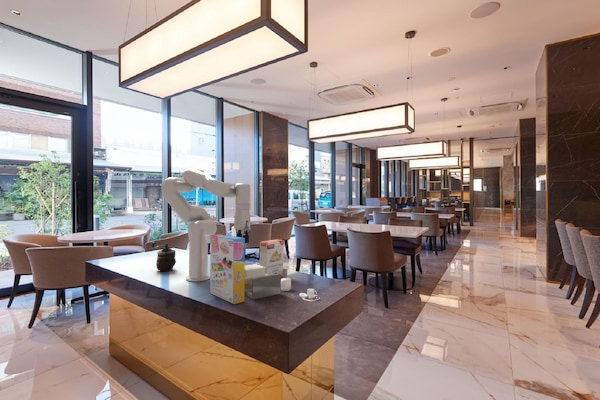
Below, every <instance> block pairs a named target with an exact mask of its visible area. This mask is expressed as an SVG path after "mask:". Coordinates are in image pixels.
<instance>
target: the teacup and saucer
mask: <svg viewBox="0 0 600 400" xmlns="http://www.w3.org/2000/svg"><path fill="white" fill-rule="evenodd" d="M306 292H307V293H304V292H300V293H299V297H300V298H301V299H302V300H304V301H309V302H313V301H318V300H319V299H317V298H316V297H315V296H317V293H318V292H317V291H316V290H315V288H308V289H307V291H306ZM306 298H308V299H306ZM314 298H315V299H314Z"/></svg>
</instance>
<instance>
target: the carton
mask: <svg viewBox="0 0 600 400" xmlns="http://www.w3.org/2000/svg"><path fill="white" fill-rule="evenodd" d="M259 276H265V267H263V266H260V264H257V263H253V264H246V265H245V278H246V279H247V278H253V277H259Z"/></svg>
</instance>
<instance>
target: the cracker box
mask: <svg viewBox="0 0 600 400" xmlns="http://www.w3.org/2000/svg"><path fill="white" fill-rule="evenodd" d="M284 241H285V240H283V239H278V238H276V239H271V240H269V239H268V240H262V241H260V242H259V265H260V266H263V267H265V274H267V275H273V274H280V278H284V254H285V253H284V252H285V251H284V247H285V242H284Z"/></svg>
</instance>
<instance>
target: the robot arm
mask: <svg viewBox="0 0 600 400" xmlns="http://www.w3.org/2000/svg"><path fill="white" fill-rule="evenodd" d="M197 188H200V189H202V190H204V191H206V192H207V193H209V194H211V195H215V196H218V197H221V198H235V206H234V208H235V212H234V220H233V228H234V230H235V234H236V236H235V237H241V238H245V244H248V243H250V240H249V239H250V232H251V230H252V227H251V184H249V183H245V182H244V183H243V182H241V183H240V182H239V183H232V182H223V181H220V180H217V179H215V178H214V175H212V174H209V173H206V172H205V171H204V170H202V169H197V168H192V167H191V168H187V169H184V171H183V172H182V176H181V177H175V176H174V177H172V176H170V177H168V178H165V179H164V180H163V181H162V184H161V193H162V196H163V198H164V199H165V201H166V202H167V203H168V204H169V206H170V207H171V208H172V210H174V213H176V215H177V216H178V218H179V219H180V220H181V221H182V222H183V223H185V224H189V225H188V227H187V236H188V240H189V241H188V242H189V245H188V246H189V247H188V248H189V257H188V258H189V260H188V263H189V264H188V265H189V267H188V268H189V270H188V271H189V272H188V273H189V274H188V275H187V276H186V277H185V279H186V281H188V282H194V283H195V282H203V281H208V280H210V274H209V271H208V270H209V269H208V268H209V246H208V240H207V237H211V235H215V234H216V232H217V229H218V226H217V224H216V221H215V220H214V219H213V217H211V215H210V213H208V211H207V210H206V209H205V208H204V207H202V206H200V205H191V203H189V201H188V200H187V199H186V197H185V196H183V195H182V194H186V193H191V192H192V191H194V190H196V189H197Z"/></svg>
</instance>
